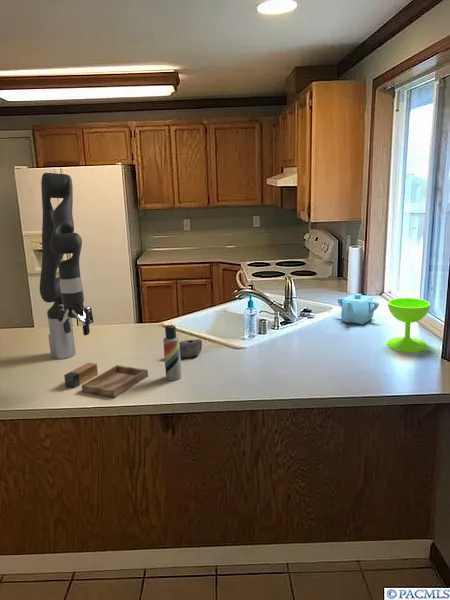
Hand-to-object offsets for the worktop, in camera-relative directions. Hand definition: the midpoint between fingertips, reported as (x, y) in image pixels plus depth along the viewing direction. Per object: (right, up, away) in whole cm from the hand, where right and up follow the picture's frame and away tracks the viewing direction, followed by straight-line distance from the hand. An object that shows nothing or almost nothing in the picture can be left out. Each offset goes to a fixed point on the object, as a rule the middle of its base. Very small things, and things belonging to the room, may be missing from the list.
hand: (77, 333), depth 184 cm
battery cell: (+1, -18, +4) cm, 18 cm away
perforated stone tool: (+37, -11, +24) cm, 45 cm away
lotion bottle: (+35, -17, +3) cm, 39 cm away
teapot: (+116, +1, +59) cm, 130 cm away
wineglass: (+128, -7, +26) cm, 131 cm away
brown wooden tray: (+14, -18, 0) cm, 23 cm away
